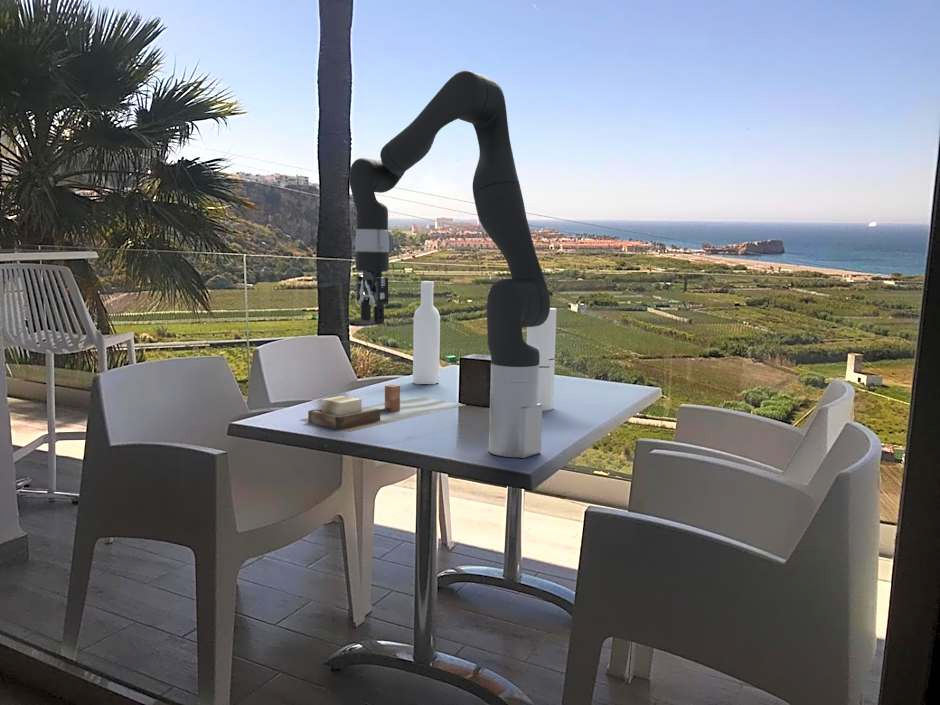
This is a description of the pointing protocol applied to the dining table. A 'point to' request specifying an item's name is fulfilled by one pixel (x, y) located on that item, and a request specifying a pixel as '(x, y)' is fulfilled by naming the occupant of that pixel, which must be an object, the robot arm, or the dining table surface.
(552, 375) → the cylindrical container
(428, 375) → the bottle
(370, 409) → the lane rack
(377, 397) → the dining table surface
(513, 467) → the dining table surface
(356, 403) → the rod-linked blocks
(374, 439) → the dining table surface
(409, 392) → the dining table surface
